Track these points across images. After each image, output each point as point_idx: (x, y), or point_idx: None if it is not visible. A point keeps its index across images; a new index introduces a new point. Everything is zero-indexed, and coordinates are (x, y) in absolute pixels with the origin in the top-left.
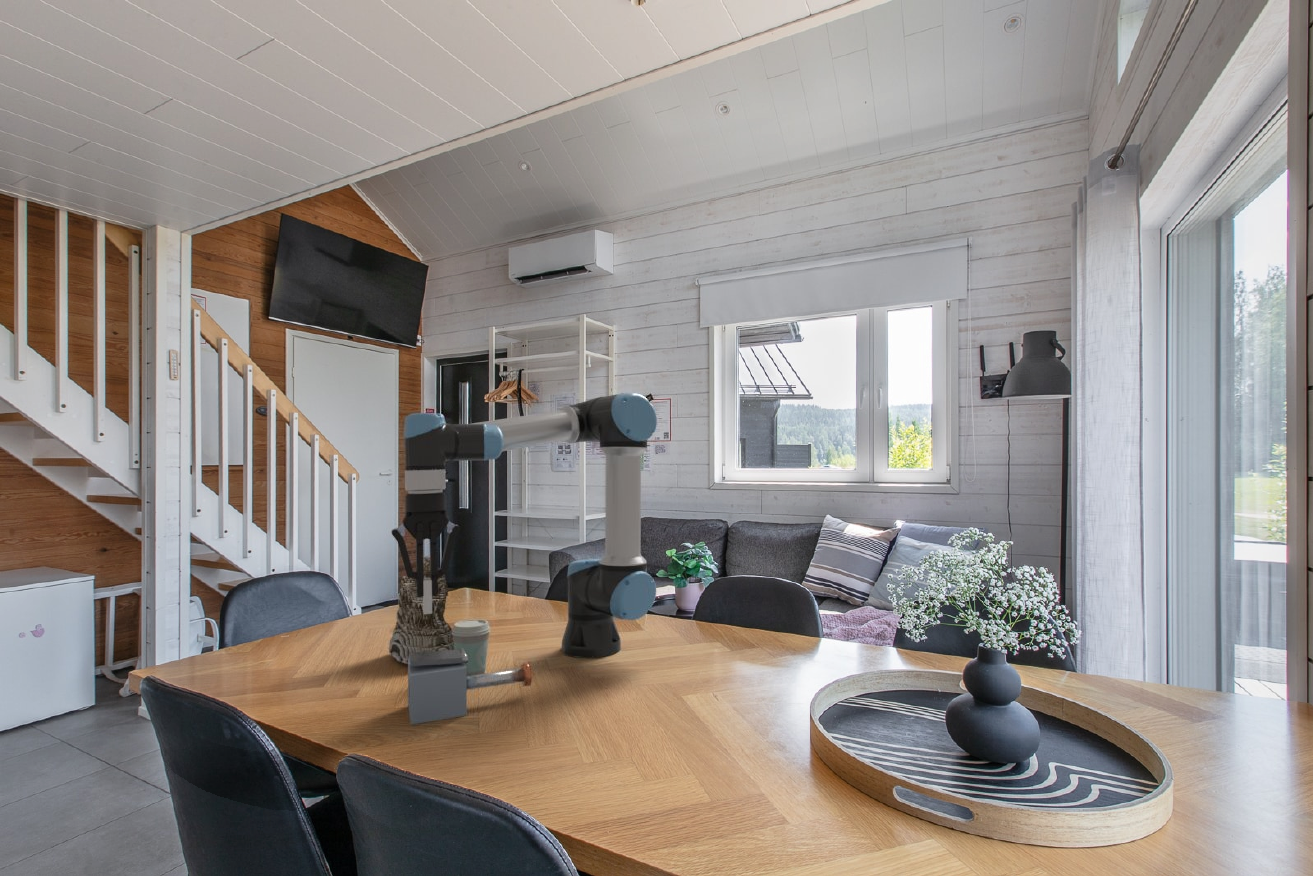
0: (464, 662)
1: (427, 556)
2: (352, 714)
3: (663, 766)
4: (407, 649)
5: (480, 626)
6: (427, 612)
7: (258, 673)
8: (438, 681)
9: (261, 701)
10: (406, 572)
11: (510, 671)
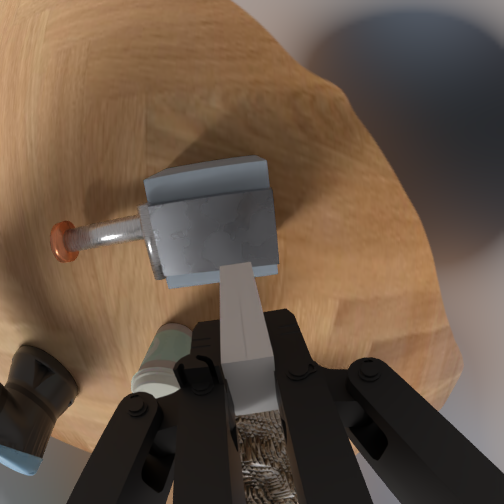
0: (147, 202)
1: None
2: (344, 231)
3: (2, 12)
4: None
5: (141, 384)
6: (237, 266)
7: (417, 381)
8: (206, 166)
9: (429, 307)
10: (400, 377)
11: (82, 237)
